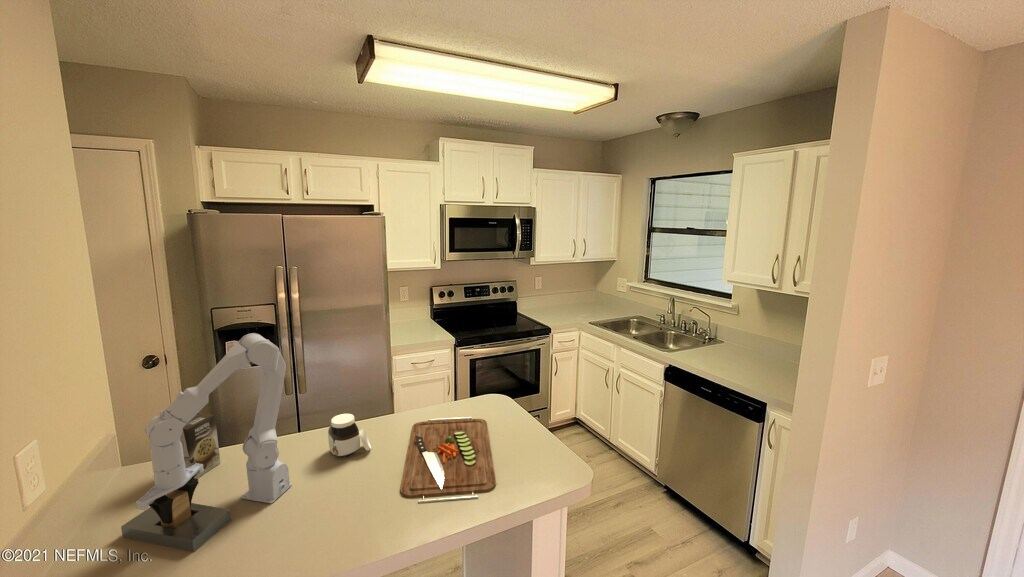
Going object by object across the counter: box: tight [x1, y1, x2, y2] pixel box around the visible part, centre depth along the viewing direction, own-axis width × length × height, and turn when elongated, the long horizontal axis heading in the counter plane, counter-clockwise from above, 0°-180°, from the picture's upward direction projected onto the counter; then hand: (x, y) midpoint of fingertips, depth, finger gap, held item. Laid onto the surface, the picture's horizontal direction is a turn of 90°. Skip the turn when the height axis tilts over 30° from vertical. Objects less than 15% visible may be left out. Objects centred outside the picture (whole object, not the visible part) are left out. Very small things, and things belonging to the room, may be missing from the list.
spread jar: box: [327, 413, 372, 459], centre depth 133 cm, size 12×11×12 cm
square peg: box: [161, 490, 191, 529], centre depth 100 cm, size 4×4×8 cm
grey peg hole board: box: [120, 502, 232, 553], centre depth 100 cm, size 20×10×3 cm, turn 79°
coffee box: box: [180, 412, 221, 479], centre depth 121 cm, size 9×6×16 cm
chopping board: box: [399, 416, 497, 504], centre depth 133 cm, size 45×27×3 cm, turn 8°
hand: (176, 515), depth 100 cm, fingers closed on square peg, 4 cm apart
